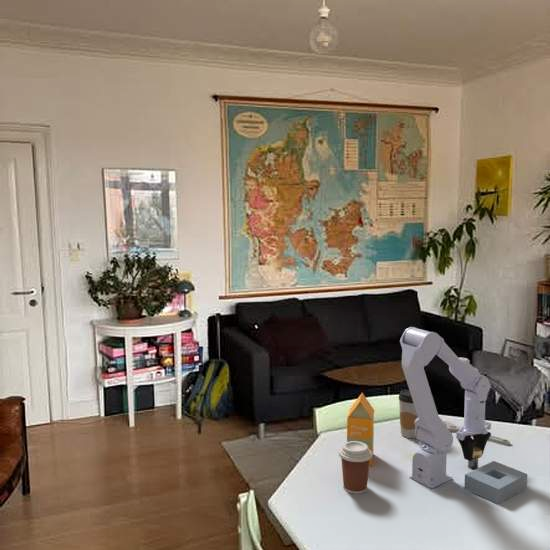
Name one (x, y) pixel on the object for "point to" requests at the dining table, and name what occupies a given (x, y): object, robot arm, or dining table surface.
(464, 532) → the dining table surface
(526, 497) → the dining table surface
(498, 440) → the adjustable wrench
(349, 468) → the coffee cup
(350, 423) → the orange juice
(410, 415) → the coffee cup
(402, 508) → the dining table surface
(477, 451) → the brass door knob
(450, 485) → the dining table surface
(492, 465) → the block
